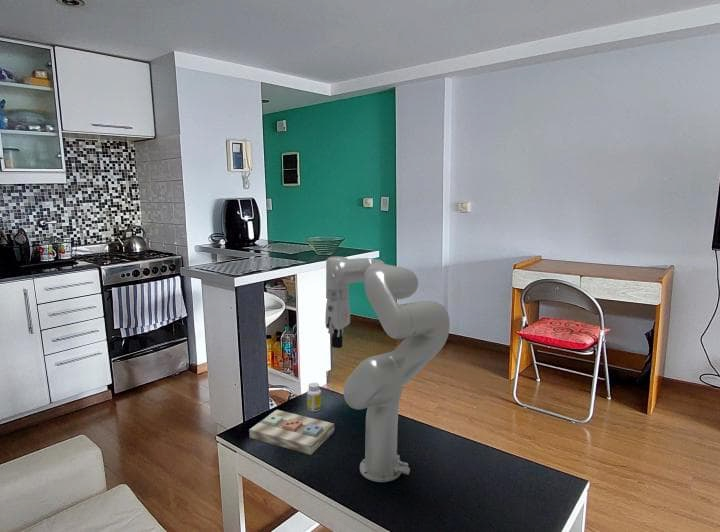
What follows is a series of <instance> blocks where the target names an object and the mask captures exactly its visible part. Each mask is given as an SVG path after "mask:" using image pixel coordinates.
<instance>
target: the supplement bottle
mask: <svg viewBox="0 0 720 532" xmlns="http://www.w3.org/2000/svg"><path fill="white" fill-rule="evenodd" d="M306 408H307V410H308V411H309V412H314V413H315V412H318V411H320V410H321V409H322V390H321V389H320V384H319V383H318V382H311V383H309V384H308V390H307V391H306Z"/></svg>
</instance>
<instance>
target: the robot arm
mask: <svg viewBox="0 0 720 532" xmlns="http://www.w3.org/2000/svg"><path fill="white" fill-rule="evenodd" d="M325 263H326V264H325V269H326V270H325V286H326V287H325V288H326V289H325V299H326V304H325V306H326V307H325V322H324V323H325V328H326V329H327V330H328V331H327V333H328V334H330V336H331V347H332V348H335V349H341V348H343V335H344V329H345V327H347V326H348V325H350V324H351V307H350V306H351V305H350V304H351V303H350V296H349V295H350V294H349V293H350V284H353V283H362V282H363V283H364V291H365V292H364V293H365V296H366V298H367V299H368V302H369V303H370V305H371V308H372V309H373V311H374V313H375V315H376V318H378V321H379V323H380V325H381V327H382V329H383V330H384V332H385V333H386V334H387V336H388V337H390V338H392V339H394V340H402V342H400V344H399V345H398V346H397V347H396V348H395V349H394V350H392V351H388V352H385V353H382V354H377V355H372V356H370V357H367V358H365V359H364V360H362V361H360V362H359V364H358V365H357V366H356V368H354V370H353V371H352V372H351V373H350V375H349V376H348V378H347V379H346V380H345V382H344V387H343V397H344V400H345V403H346V404H347V406H349V407H350V408H352V409H353V410H357V411H358V410H364V409H366V413H365V414H366V415H365V436H364V437H365V441H364V442H365V443H364V444H365V445H364V458H363V459H362V461H361V462H360V463H359V472H360V474H361V476H363V477H364V478H365V479H367V480H369V481H372V482H375V483H387V482H392V481H394V480H396V479H398V478H399V477H400V476H401V474H404V475H410V472H411V469H410V467H409V463H408V462H405V461H402V460H401V457H400V456H401V455H399V454H398V427H399V426H398V424H399V423H398V422H399V407H400V402H401V398H402V393H403V386H405V385H407V384H408V383H410V381H411V380H412V379H413V378H414V377H415V376H416V375H418V373H419V372H420V371H421V370H422V369H423V368H424V367H425V366H426V365H427V364H428V363H429V362H430V361H432V359H433V358H434V357H435V356H436V355H437V354H438V353H439V352H440V351H441V350H442V349H443V347H444V346H445V344H446V343H447V340H448V337H449V335H450V334H449V333H450V327H451V323H450V315H449V311H448V310H447V308H446V306H444V305H443V304H441V303H439V302H437V301H433V300H422V301H421V300H420V301H414V302H407V303H402V304H398V302H397V301H398V300H404V299H407V298H410V297H411V296H412V295H414V294H415V293H416V291H417V289H418V287H419V279H418V277H417V276H418V275H416V274H415V272H414V271H412V270H410V269H409V268H406V267H402V266H396V265H391V264H387V263H385V262H384V261H383V260H381V259H377V258H371V257H369V258H367V257H363V258H362V257H361V258H360V257H359V258H351V259H350V258H347V257H345V256H330V257H328V258H327V259H326V261H325Z"/></svg>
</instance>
